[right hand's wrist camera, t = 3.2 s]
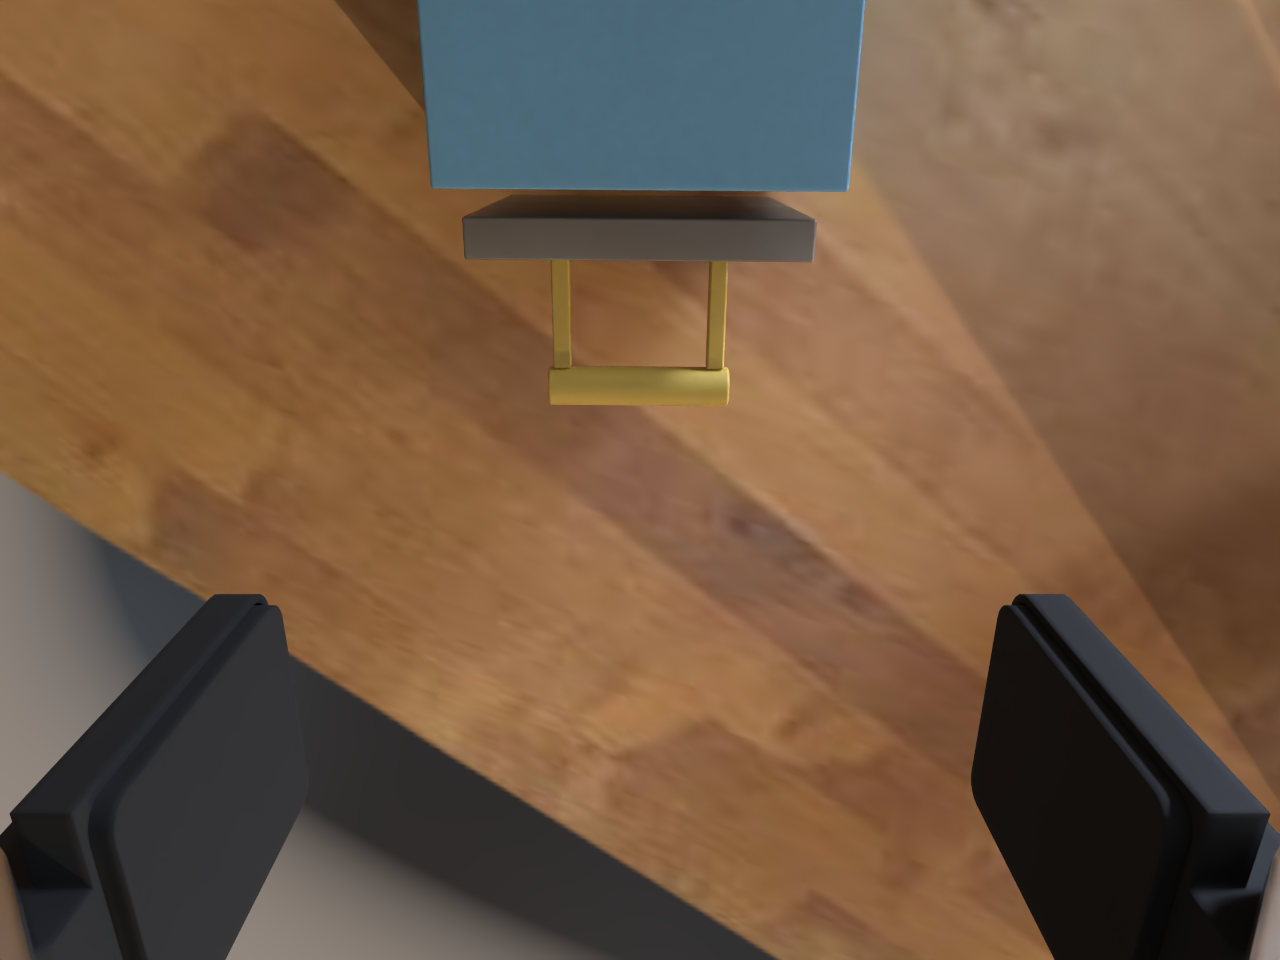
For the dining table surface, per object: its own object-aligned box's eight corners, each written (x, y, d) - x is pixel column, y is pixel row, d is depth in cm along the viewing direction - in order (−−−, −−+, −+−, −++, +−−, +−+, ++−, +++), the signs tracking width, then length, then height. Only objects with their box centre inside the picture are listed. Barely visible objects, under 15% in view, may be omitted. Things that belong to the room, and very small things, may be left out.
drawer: (759, 370, 37) (799, 448, 28) (517, 367, 37) (476, 446, 28) (793, -200, 30) (861, -351, 20) (492, -202, 30) (425, -355, 20)
